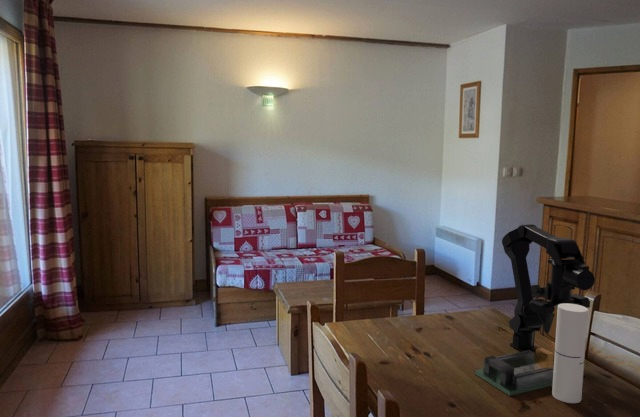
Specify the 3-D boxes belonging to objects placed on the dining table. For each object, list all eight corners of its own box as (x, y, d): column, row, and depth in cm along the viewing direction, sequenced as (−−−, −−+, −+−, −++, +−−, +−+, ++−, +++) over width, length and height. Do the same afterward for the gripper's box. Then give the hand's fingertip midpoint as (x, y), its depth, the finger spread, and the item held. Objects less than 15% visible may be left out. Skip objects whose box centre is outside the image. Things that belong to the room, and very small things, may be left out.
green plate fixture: (530, 362, 154) (531, 343, 153) (568, 381, 141) (569, 361, 140) (474, 374, 146) (475, 354, 145) (509, 395, 133) (510, 374, 132)
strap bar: (540, 364, 149) (541, 347, 148) (552, 370, 145) (553, 353, 144) (505, 372, 144) (506, 354, 143) (516, 378, 140) (517, 360, 139)
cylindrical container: (546, 390, 136) (552, 303, 133) (571, 389, 136) (577, 303, 133) (561, 403, 129) (567, 312, 126) (587, 402, 129) (594, 311, 126)
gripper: (562, 272, 157) (559, 319, 159) (517, 277, 150) (514, 326, 152) (592, 280, 146) (589, 330, 148) (545, 286, 140) (542, 339, 141)
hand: (558, 331), depth 148 cm, fingers open, 9 cm apart
